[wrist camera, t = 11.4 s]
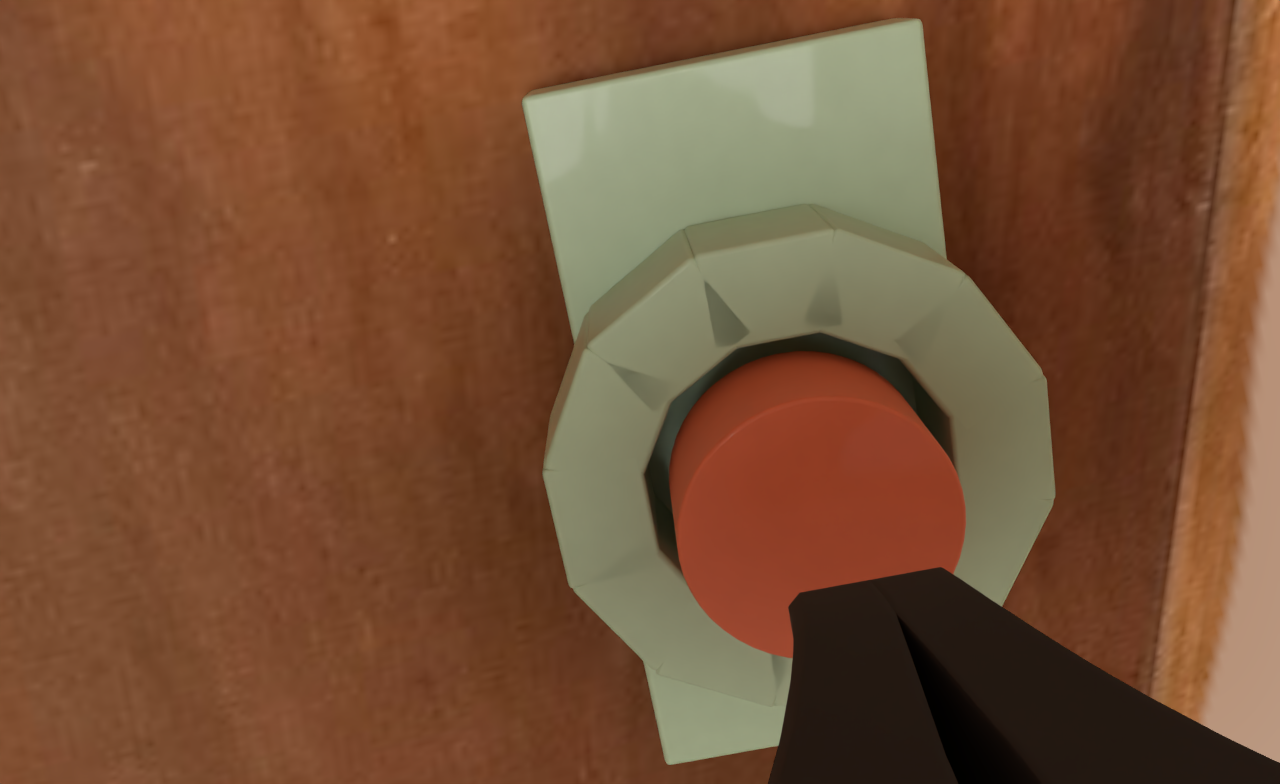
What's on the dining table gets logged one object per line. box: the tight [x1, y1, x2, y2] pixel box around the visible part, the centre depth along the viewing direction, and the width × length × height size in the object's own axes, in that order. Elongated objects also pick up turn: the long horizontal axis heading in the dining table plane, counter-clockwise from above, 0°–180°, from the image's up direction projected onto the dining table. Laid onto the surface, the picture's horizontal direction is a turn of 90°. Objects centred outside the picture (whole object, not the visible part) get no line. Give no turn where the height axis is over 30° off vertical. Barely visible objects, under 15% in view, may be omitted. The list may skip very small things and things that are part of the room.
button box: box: [522, 18, 1055, 765], centre depth 15 cm, size 10×6×3 cm, turn 11°
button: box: [669, 351, 966, 658], centre depth 13 cm, size 3×3×2 cm
